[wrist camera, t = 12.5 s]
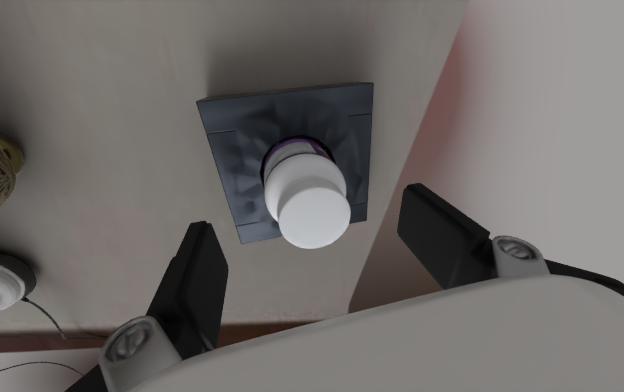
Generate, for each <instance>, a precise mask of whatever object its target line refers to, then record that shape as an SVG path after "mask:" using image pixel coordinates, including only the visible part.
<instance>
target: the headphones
mask: <svg viewBox="0 0 624 392" xmlns="http://www.w3.org/2000/svg"><path fill="white" fill-rule="evenodd" d="M35 286H36V278H35V275H34V273H33V272H32V270H31V269H30V268H29V267H28V266H27V265H26V264H25V263H23V262H21V261H20V260H18V259H16V258H14V257H11V256H9V255H7V254H5V253H3V252H1V251H0V310H3V309H6V308H8V307H10V306H12V305H13V304H14V303H15V302H17V301H19V300H22V301H25V302H29V303H31V304H33V305H34V306H36V307H37V308H39V309H40V310H41V311H42V312H43V313H45V314H46V315H47V316H48V317H49V318H50V319H51V320H52V321H53V323H54V324H55V325H56V327H57V328H58V330H59V332H60V334H61V336H62V338H63V339H101V338H65V337H64V335H63V333H62V331H61V329H60V328H59V326H58V324H57V323H56V322H55V321H54V319H53V318H52V317H51V316H50V315H49V314H48V313H47V312H46V311H44V310H43V309H42V308H41V307H39V306H38V305H36V304H35V303H33V302H31V301H29V299H27V298H26V296H27V295H28V294H29V293H31V292H32V291H33V289H34V288H35ZM103 340H107V339H103ZM34 363H39V362H34ZM40 363H51V362H40ZM26 364H30V363H26ZM52 364H57V363H52ZM22 365H24V364H22ZM58 365H62V364H58ZM17 366H19V365H17ZM62 366H65V365H62ZM13 367H16V366H13ZM65 367H68V366H65ZM10 368H12V367H10ZM68 368H70V367H68ZM6 369H8V368H6ZM70 369H72V370H74V371H76V370H75V369H73V368H70ZM3 370H5V369H3ZM0 371H2V370H0ZM76 372H78V371H76ZM78 373H80V372H78ZM80 374H81V373H80ZM81 375H83V374H81ZM83 376H84V375H83Z"/></svg>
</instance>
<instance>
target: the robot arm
mask: <svg viewBox="0 0 624 392" xmlns="http://www.w3.org/2000/svg"><path fill="white" fill-rule="evenodd" d="M397 232H398V235H399V237H400V238H401V239H402V240H403V242H404V243H405V244H406V245H407V246H408V248H409V249H410V250H411V251H412V253H413V254H414V255H415V256H416V257H417V259H418V260H419V261H420V262H421V263H422V265H423V266H424V267H425V268H426V269H427V271H428V272H429V273H430V274H431V275H432V277H433V278H434V279H435V280H436V281H437V283H438V284H439V285H440V286H441V287H442V288H443V289H444V291H439V292H435V293H431V294H427V295H423V296H419V297H415V298H411V299H407V300H403V301H399V302H395V303H391V304H387V305H383V306H379V307H375V308H371V309H367V310H363V311H359V312H355V313H351V314H347V315H343V316H339V317H335V318H331V319H327V320H323V321H320V322H316V323H312V324H308V325H304V326H300V327H296V328H292V329H289V330H285V331H281V332H277V333H273V334H269V335H265V336H262V337H258V338H254V339H251V340H247V341H244V342H240V343H236V344H233V345H229V346H226V347H222V348H218V349H215V350H212V349H214V348H216V346H217V342H218V336H219V329H220V323H221V317H222V310H223V304H224V297H225V291H226V285H227V278H228V264H227V262H226V259H225V257H224V254H223V252H222V249H221V247H220V244H219V242H218V239H217V237H216V234H215V232H214V229H213V226H212V224H211V223H208V224H207V222H206V221H200V222H195V223H191V224H190V225H189V228H188V230H187V232H186V234H185V236H184V239H183V241H182V243H181V245H180V248H179V250H178V252H177V254H176V256H175V257H173V258H172V260H171V262H170V264H169V266H168V268H167V270H166V272H165V274H164V277H163V279H162V281H161V283H160V285H159V287H158V289H157V292H156V294H155V296H154V298H153V300H152V302H151V304H150V307H149V309H148V311H147V313H146V315H145V316H139V317H137V318H134V319H131V320H130V321H128V322H126V323H125V324H123V325H121V326H120V327H119V328H118V329H116V330H115V331H114V332H113V333H112V334H111V335H110V336H109V337H108V339H107V340H106V341H105V343H104V344H103V346H102V347H101V350H100V353H99V356H98V358H99V364H98V365H96V366H95V367H94V368H93V369H92V370H90V371H89V372H88V373H87V374H85V375H84V376H83V377H82V378H81V379H79V380H78V381H77V382H76V383H74V384H73V385H72V386H71V387H69V388H68V389H67V390H66V391H65V392H624V284H623V283H622V282H620V281H618V280H616V279H613V278H610V277H607V276H604V275H601V274H597V273H594V272H590V271H586V270H582V269H579V268H575V267H571V266H568V265H564V264H561V263H557V262H553V261H550V260H546V259H544V258H543V256H542V254H541V253H540V251H539V250H538V249H537V248H536V247H535V246H533V245H532V244H530V243H528V242H526V241H524V240H521V239H519V238H516V237H512V236H497V237H495V238H494V239H493V240H491V239H489V238H488V237H489V235H490V232H489V231H487V230H486V229H484V228H483V227H482V226H480V225H479V224H478V223H476V222H475V221H473V220H472V219H471V218H469V217H467V216H466V215H465V214H463V213H462V212H461V211H459V210H458V209H456V208H455V207H454V206H452V205H451V204H449V203H448V202H447V201H445V200H444V199H442V198H441V197H439V196H438V195H437V194H435V193H434V192H432V191H431V190H429V189H428V188H427V187H425V186H424V185H423V184H421V183H416V184H410V185H408V186H407V187H406V188H405V189H404V191H403V196H402V203H401V209H400V215H399V222H398V228H397Z"/></svg>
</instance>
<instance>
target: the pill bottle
mask: <svg viewBox="0 0 624 392" xmlns="http://www.w3.org/2000/svg"><path fill="white" fill-rule="evenodd" d="M264 195H265V202H266V206H267V208H268V211H269V212H270V214H271V215H272V217H273V218H274V219H275V220H276V221H277V222H278V223H279V228H280V231H281V233H282V235H283V236H284V237H285V239H286V240H287V241H289V242H290V243H291V244H293V245H295V246H298V247H301V248H309V249H312V248H319V247H323V246H326V245H328V244H330V243H332V242H334V241H335V240H336V239H338V238H339V237H340V236H341V235H342V234H343V233H344V231H345V230H346V228H347V226H348V224H349V221H350V215H351V211H350V206H349V203H348V201H347V199H346V183H345V180H344V177H343V175H342V173H341V171H340V170H339V168H338V167H337V166H336V165H335V163H334V162H333V161H332V160H331V159H330V157H329V156H328V155H327V154H326V153H325V151H324V150H323V149H322V148H321V147H320V145H319V144H318V143H317V142H316V141H315V140H314V139H313V138H311V137H308V136H304V135H299V136H292V137H286V138H284V139H283V140H281V141H279V142H278V143H276V144H274V145H272V147H271V148H270V149H269V151H268V152H267V153H266V155H265V160H264Z"/></svg>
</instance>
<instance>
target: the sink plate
mask: <svg viewBox="0 0 624 392" xmlns="http://www.w3.org/2000/svg"><path fill="white" fill-rule="evenodd" d="M373 86H374V83H371V82H349V83H339V84H330V85H320V86H310V87H301V88H291V89H281V90H272V91H262V92H252V93H243V94H233V95H223V96H214V97H206V98H204V99H201V100H198V101H196V103H197V106H198V110H199V113H200V116H201V119H202V122H203V125H204V128H205V132H206V133H207V138H208V141H209V144H210V147H211V150H212V153H213V157H214V160H215V163H216V166H217V169H218V172H219V175H220V179H221V182H222V185H223V188H224V191H225V194H226V197H227V201H228V204H229V207H230V210H231V213H232V216H233V219H234V222H235V225H236V229H237V232H238V235H239V238H240V241H241V244H244V243H249V242H254V241H260V240H265V239H271V238H276V237H281V236H283V235H282V233H281V231H280V228H279V223H278V222H277V221H276V220H275V219H274V218H273V217H272V215H271V214H270V212H269V211H268V208H267V206H266V202H265V195H264V173H263V169H262V162H263V158H264V156H265V155H266V153H267V152H268V151H269V149H270V148H271V147H272V145H274V144H276V143H278V142H279V141H281V140H283V139H284V138H286V137H292V136H299V135H304V136H308V137H311V138H315V139H318V140H319V141H320V142H321V143H323V145H324V147H325V149H326V154H327V155H328V156H329V157H330V159H331V160H332V161H333V162H334V163H335V165H336V166H337V167H338V168H339V170H340V171H341V173H342V175H343V177H344V180H345V183H346V199H347V201H348V203H349V206H350V211H351V215H350V221H349V224H351V223H356V222H362V221H366V220H367V202H368V184H369V164H370V145H371V125H372V114H371V113H372V105H373Z"/></svg>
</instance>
